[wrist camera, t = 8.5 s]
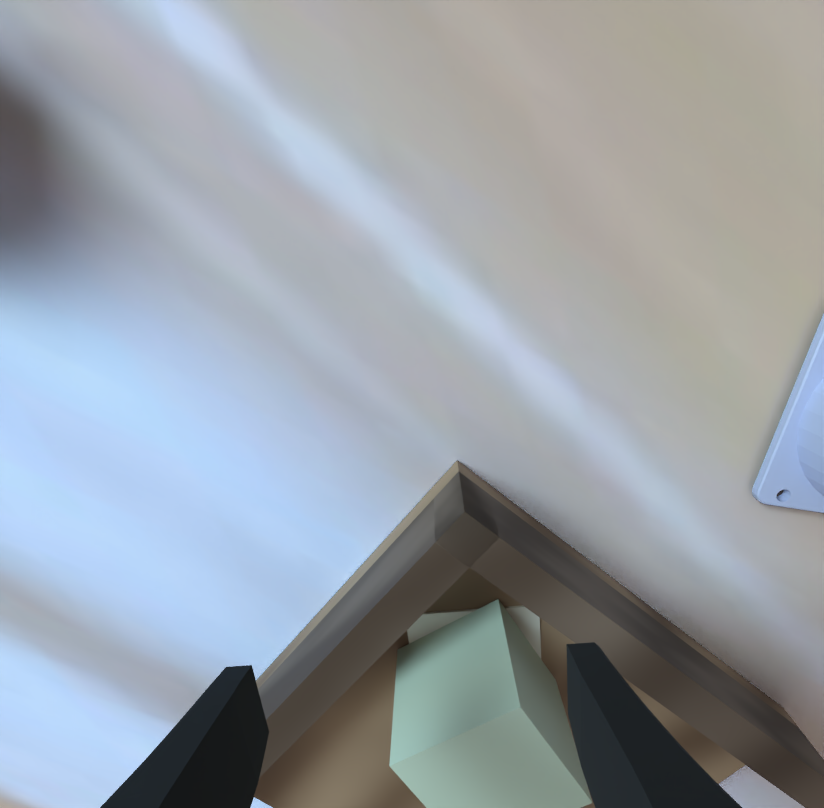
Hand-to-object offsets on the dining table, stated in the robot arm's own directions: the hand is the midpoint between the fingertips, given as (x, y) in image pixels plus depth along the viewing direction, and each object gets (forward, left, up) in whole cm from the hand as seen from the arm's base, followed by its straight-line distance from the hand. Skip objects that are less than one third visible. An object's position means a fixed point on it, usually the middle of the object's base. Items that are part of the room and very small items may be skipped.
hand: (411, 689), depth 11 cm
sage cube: (-4, +7, -8) cm, 12 cm away
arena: (-5, +12, -9) cm, 16 cm away
